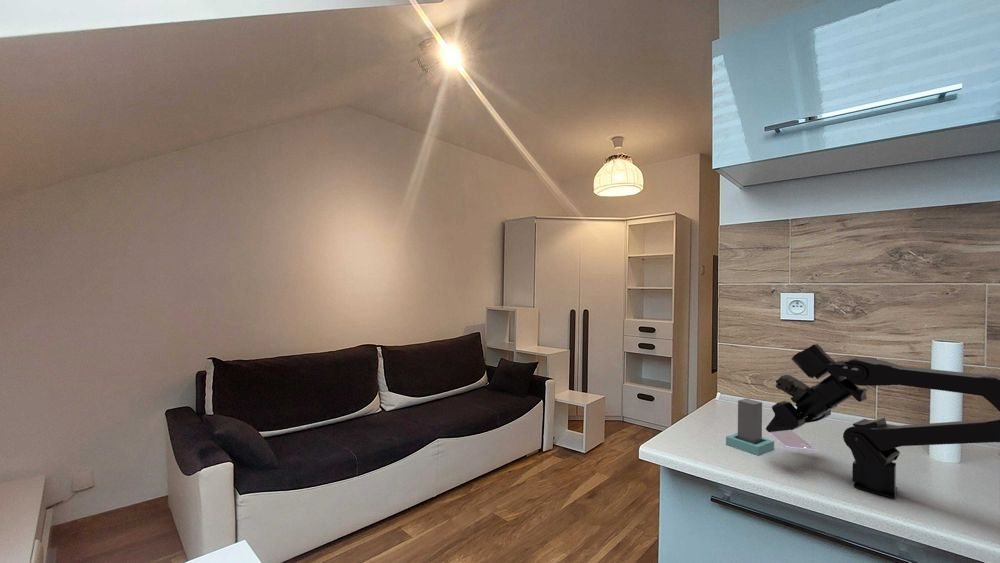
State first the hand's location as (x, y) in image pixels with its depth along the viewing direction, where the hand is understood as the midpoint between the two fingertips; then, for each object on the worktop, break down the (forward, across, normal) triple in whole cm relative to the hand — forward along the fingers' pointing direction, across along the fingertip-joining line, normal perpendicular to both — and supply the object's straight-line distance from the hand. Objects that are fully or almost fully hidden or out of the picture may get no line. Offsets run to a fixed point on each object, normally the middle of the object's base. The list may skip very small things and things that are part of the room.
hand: (776, 427), depth 106 cm
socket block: (+10, 0, 0) cm, 10 cm away
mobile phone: (+8, -16, +3) cm, 18 cm away
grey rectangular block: (+10, 0, 0) cm, 10 cm away
